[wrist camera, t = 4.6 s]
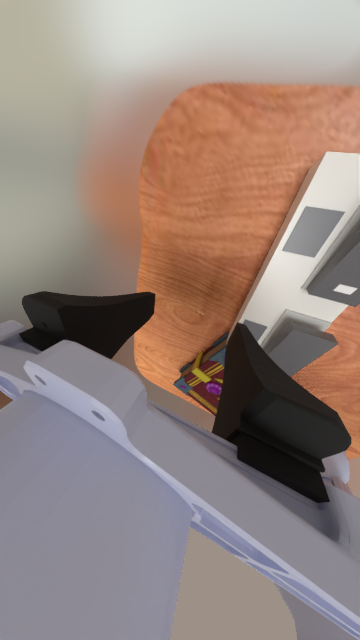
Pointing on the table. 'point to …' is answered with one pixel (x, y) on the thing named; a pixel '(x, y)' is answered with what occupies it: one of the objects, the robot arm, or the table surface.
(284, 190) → the table surface
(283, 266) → the base
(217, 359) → the decorative book
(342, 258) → the rocker outer
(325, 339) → the rocker inboard
